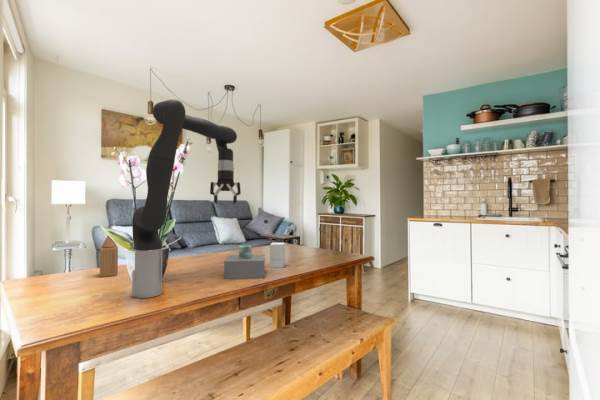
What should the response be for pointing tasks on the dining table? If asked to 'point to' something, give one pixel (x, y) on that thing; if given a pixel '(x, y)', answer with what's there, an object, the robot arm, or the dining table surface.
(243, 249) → the teal block
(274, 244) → the supplement box
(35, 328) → the dining table surface
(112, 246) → the decorative item
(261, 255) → the charcoal stand
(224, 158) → the robot arm
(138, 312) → the dining table surface
